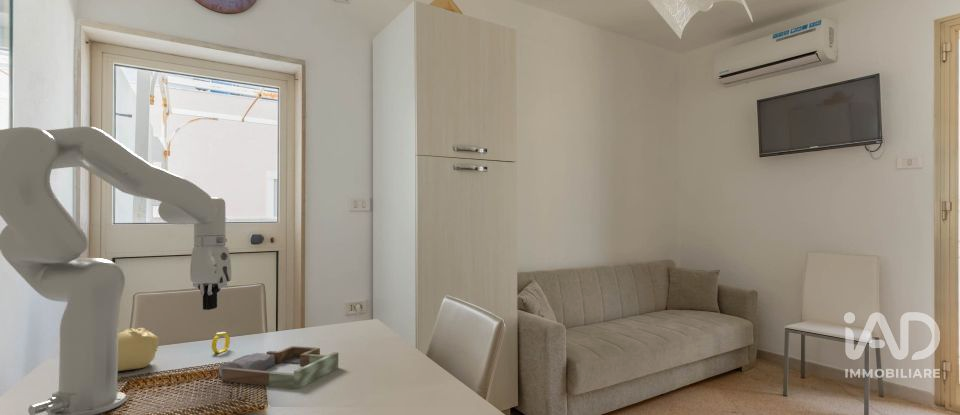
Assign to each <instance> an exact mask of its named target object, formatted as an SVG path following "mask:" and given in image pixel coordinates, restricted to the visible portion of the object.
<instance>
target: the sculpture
mask: <svg viewBox="0 0 960 415" xmlns="http://www.w3.org/2000/svg"><path fill="white" fill-rule="evenodd" d="M159 342H160V340H159V337H158V336H157V335H155V334H154V333H153V332H151V331H149V330H147V329H146V328H145V327H138V328H133V327H131V328H125V329H124V331H120V332H118V372H120V371H121V372H122V371H130V370H138V369H143V368H146V367H148V366H149V364H150V363H151V362H152V361H154V359H155V358H156V352H157V351H158V347H159Z"/></svg>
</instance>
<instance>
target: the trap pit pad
mask: <svg viewBox="0 0 960 415" xmlns="http://www.w3.org/2000/svg"><path fill="white" fill-rule="evenodd" d="M282 363H284V364H294V365H300V357H292V358H290V359H287V360H285V361H282ZM282 363H281V364H282Z"/></svg>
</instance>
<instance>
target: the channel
mask: <svg viewBox="0 0 960 415" xmlns="http://www.w3.org/2000/svg"><path fill="white" fill-rule="evenodd" d="M266 354H269V355H272V354H273V355H274V358H275V363H274V365H278V364H282V361H285V360H287V359H290V358H292V357H300V364H299V366H300V368H297V369H296V370H293V373H291V372H282V371H273V370H272V371H269V370H264V371H262V370H251V369H240V368H229V367H225V368H222V377H221V381H222V382H228V383H229V382H230V383H237V384H250V385H260V386H267V387H268V386H269V387H278V388H286V389H287V388H288V389H295V390H298V389H301V388H303V387H304V386H306V385H308V384H310V383H312V382H314V381H315V380H318V379H320V378H322V377H323V376H325V375H327V374H328V373H330V372H333V371H335V370H337V369H338V368H339V352H338V351H337V352H335V351H334V352H332V353H330V354H327V355H326V354H325V355H324V354H321V348H320V347H312V346H309V347H308V346H299V345H298V346H297V345H291V346H288V347H286V348H284V349H281V350H279V351H277V350H276V351H275V350H269V351H266Z"/></svg>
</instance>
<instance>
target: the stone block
mask: <svg viewBox="0 0 960 415" xmlns="http://www.w3.org/2000/svg"><path fill="white" fill-rule="evenodd" d="M274 363H275V358H274V355H273V354H272V355H269V354H267V353H264V352H259V353H258V352H256V353H252V354H251V353H250V354H247V355H243V356H241V357H237V358H236V359H235V358H234V360H232V361H229V362H225V363H222V364H221V365H219V368H218V375H219V377H220V378H222V368H225V367H229V368H240V369H251V370H262V371H267V370H268V369H270V368H272V367H273V366H274V365H275V364H274Z"/></svg>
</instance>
